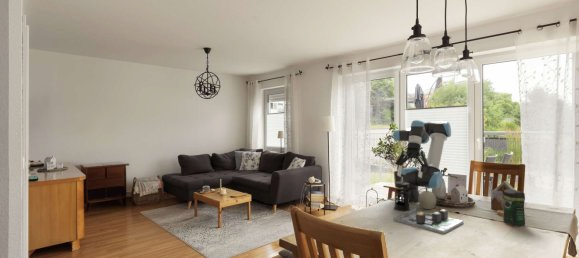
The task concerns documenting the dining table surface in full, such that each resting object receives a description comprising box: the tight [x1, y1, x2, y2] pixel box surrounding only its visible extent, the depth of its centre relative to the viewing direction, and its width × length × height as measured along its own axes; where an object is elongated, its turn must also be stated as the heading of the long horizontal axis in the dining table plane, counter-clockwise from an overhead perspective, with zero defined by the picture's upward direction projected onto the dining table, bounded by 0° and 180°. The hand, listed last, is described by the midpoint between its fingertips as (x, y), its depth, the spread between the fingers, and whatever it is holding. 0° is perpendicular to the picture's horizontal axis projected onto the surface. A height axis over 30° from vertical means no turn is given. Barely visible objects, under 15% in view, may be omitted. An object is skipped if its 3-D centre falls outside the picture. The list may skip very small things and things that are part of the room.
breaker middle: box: [431, 211, 441, 222], centre depth 164 cm, size 4×3×4 cm
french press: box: [393, 173, 411, 212], centre depth 193 cm, size 12×9×23 cm
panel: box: [393, 209, 464, 235], centre depth 168 cm, size 24×28×2 cm
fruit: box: [418, 187, 437, 210], centre depth 194 cm, size 10×12×15 cm
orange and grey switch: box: [416, 213, 425, 223], centre depth 163 cm, size 4×3×4 cm
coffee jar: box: [502, 188, 526, 227], centre depth 163 cm, size 10×8×19 cm
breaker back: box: [438, 208, 449, 219], centre depth 169 cm, size 4×3×4 cm
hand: (409, 176), depth 181 cm, fingers open, 13 cm apart
